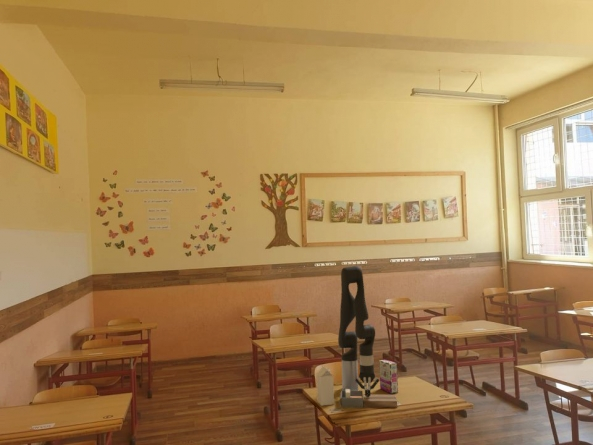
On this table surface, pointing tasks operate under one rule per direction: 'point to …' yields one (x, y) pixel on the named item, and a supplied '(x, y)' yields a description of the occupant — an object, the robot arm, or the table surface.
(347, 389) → the tile cream
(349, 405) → the tray
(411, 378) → the table surface
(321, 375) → the milk carton
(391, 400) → the grey brown tray
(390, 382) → the candy bar box
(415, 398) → the table surface
